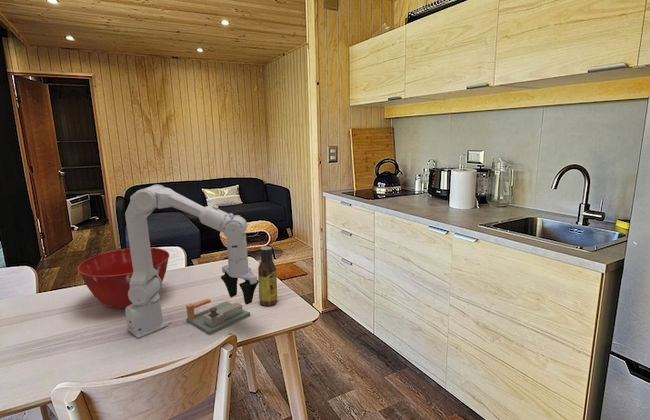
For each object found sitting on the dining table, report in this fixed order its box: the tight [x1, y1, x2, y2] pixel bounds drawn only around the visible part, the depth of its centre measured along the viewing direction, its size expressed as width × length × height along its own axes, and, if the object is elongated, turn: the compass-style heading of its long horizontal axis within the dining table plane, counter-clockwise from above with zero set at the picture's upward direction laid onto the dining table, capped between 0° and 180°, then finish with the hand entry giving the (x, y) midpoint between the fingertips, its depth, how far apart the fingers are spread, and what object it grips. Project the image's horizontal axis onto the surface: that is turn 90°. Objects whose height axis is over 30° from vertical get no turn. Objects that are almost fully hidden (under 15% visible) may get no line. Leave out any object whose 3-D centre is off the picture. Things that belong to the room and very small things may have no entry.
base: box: [185, 301, 251, 336], centre depth 118 cm, size 15×13×6 cm
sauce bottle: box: [257, 246, 278, 307], centre depth 127 cm, size 6×6×20 cm
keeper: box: [185, 298, 212, 320], centre depth 119 cm, size 8×2×5 cm, turn 139°
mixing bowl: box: [77, 247, 170, 310], centre depth 131 cm, size 28×28×15 cm
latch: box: [203, 302, 244, 327], centre depth 117 cm, size 12×4×2 cm, turn 139°
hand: (240, 299), depth 113 cm, fingers open, 7 cm apart
